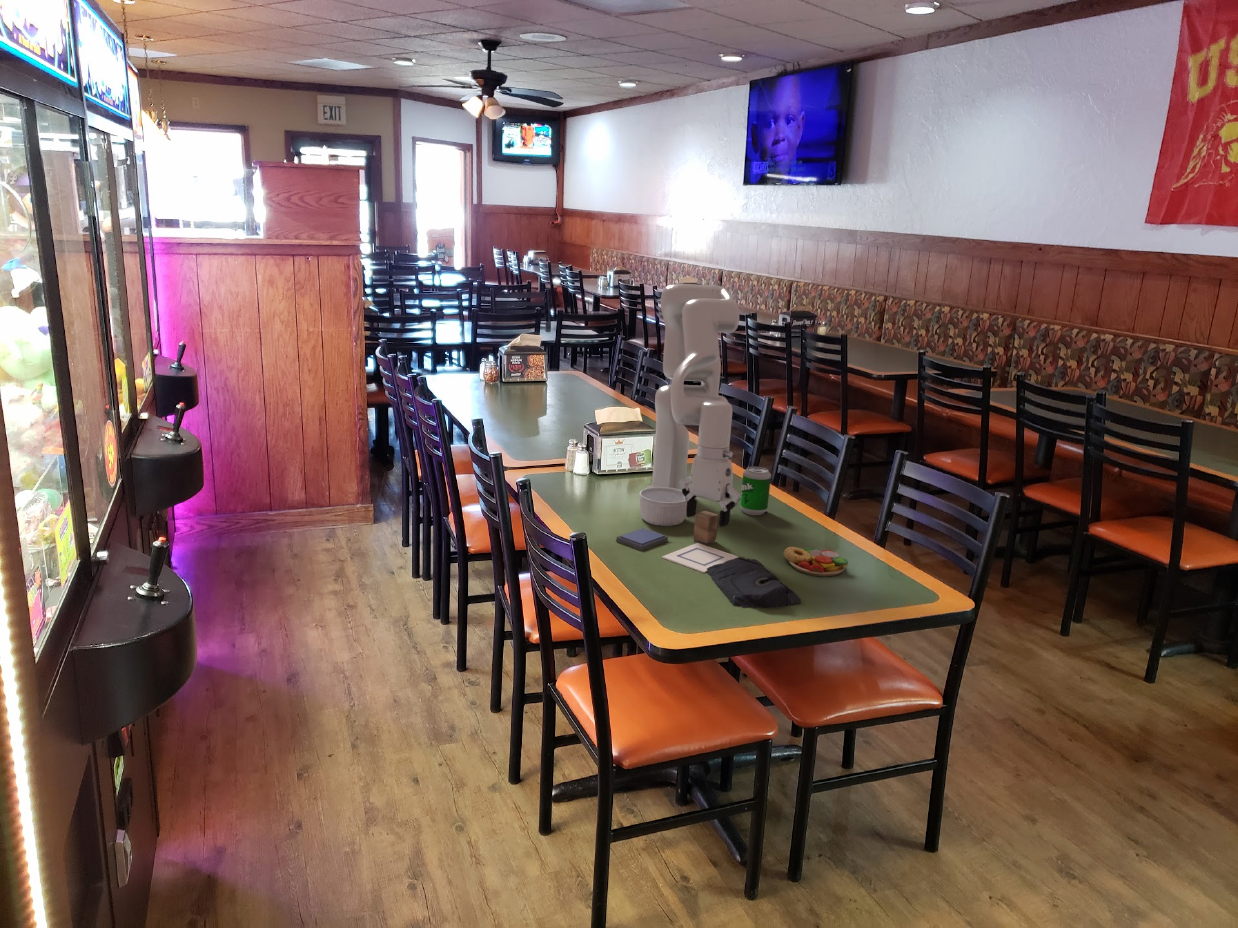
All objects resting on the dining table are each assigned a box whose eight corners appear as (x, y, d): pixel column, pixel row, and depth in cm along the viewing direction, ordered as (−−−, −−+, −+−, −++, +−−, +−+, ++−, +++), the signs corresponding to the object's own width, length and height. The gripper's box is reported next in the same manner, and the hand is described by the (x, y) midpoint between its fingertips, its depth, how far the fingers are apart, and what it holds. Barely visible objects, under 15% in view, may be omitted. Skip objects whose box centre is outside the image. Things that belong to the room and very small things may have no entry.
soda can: (766, 508, 247) (770, 467, 243) (767, 517, 239) (772, 474, 236) (738, 506, 247) (743, 464, 244) (739, 514, 240) (744, 472, 237)
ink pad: (642, 532, 221) (642, 526, 221) (667, 540, 216) (668, 535, 216) (616, 541, 214) (616, 535, 214) (641, 550, 209) (642, 544, 209)
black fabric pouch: (764, 568, 204) (766, 548, 203) (805, 608, 184) (807, 587, 182) (701, 570, 201) (703, 550, 199) (735, 611, 180) (738, 590, 179)
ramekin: (684, 530, 225) (686, 504, 223) (633, 524, 227) (635, 498, 225) (690, 515, 237) (692, 490, 235) (642, 509, 240) (644, 484, 238)
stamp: (702, 537, 221) (705, 510, 219) (715, 541, 218) (718, 514, 216) (693, 540, 218) (695, 514, 216) (706, 545, 215) (708, 518, 213)
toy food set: (776, 558, 210) (778, 546, 209) (824, 554, 215) (826, 542, 214) (807, 580, 198) (808, 567, 197) (856, 575, 203) (858, 562, 202)
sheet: (697, 543, 216) (697, 542, 216) (738, 557, 208) (738, 556, 208) (661, 557, 205) (661, 556, 205) (703, 572, 198) (704, 571, 198)
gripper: (752, 457, 209) (745, 526, 213) (692, 443, 220) (687, 509, 224) (734, 462, 204) (728, 532, 208) (674, 447, 214) (669, 515, 218)
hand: (707, 520), depth 216 cm, fingers open, 9 cm apart
